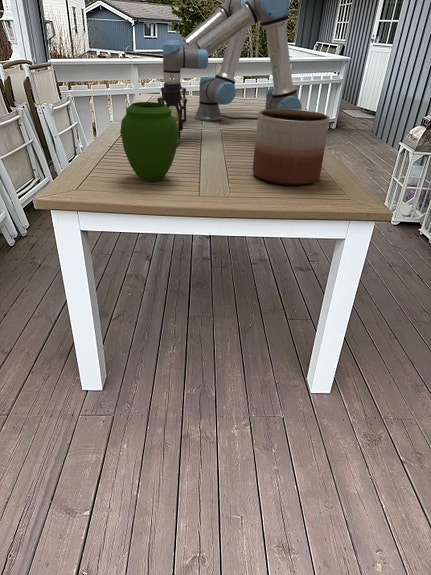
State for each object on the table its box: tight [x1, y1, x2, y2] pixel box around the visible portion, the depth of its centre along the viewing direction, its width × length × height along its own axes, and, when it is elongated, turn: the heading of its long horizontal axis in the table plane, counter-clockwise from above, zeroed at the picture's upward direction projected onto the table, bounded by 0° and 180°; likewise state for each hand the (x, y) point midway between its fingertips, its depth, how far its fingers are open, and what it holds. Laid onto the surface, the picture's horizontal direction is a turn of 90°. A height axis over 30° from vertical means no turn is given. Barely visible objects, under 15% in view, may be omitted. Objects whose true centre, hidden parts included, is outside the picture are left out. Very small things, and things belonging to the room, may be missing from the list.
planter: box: [252, 109, 331, 186], centre depth 150 cm, size 25×25×22 cm
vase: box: [119, 101, 179, 182], centre depth 140 cm, size 20×20×24 cm
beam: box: [169, 104, 180, 144], centre depth 208 cm, size 54×6×9 cm, turn 4°
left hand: (174, 121), depth 226 cm, fingers closed on beam, 5 cm apart
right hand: (172, 137), depth 194 cm, fingers closed on beam, 5 cm apart
